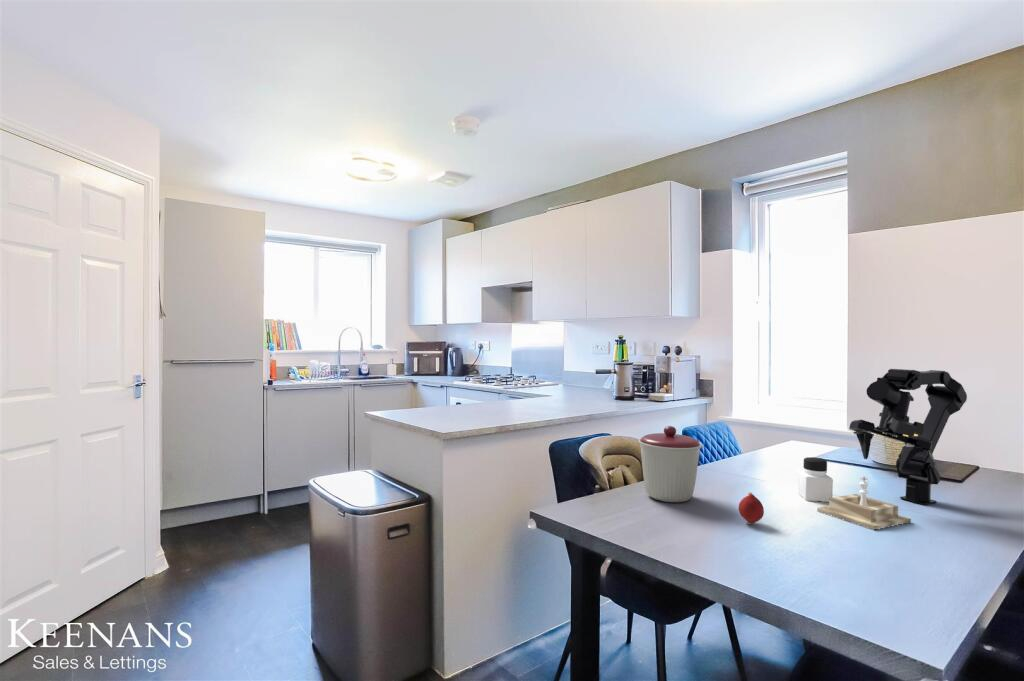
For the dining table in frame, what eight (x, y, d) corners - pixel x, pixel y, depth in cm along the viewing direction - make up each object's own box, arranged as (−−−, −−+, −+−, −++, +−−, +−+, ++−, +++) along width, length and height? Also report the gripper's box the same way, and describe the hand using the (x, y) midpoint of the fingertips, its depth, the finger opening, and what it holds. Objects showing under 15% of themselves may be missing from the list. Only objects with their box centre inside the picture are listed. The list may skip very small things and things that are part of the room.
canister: (680, 512, 139) (681, 434, 139) (624, 495, 153) (626, 425, 153) (713, 499, 151) (714, 427, 151) (659, 485, 165) (660, 419, 165)
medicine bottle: (832, 502, 150) (833, 461, 149) (805, 501, 151) (806, 460, 151) (823, 495, 156) (823, 456, 156) (797, 493, 158) (798, 454, 158)
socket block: (853, 505, 148) (853, 491, 148) (910, 522, 134) (911, 507, 134) (817, 511, 142) (817, 496, 142) (874, 530, 128) (874, 514, 128)
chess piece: (851, 508, 141) (851, 472, 141) (872, 511, 139) (873, 474, 139) (853, 514, 137) (854, 476, 137) (876, 517, 135) (876, 479, 135)
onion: (761, 521, 133) (762, 490, 133) (765, 529, 127) (765, 497, 127) (737, 518, 135) (737, 488, 135) (739, 526, 129) (739, 494, 129)
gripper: (874, 398, 141) (861, 453, 139) (950, 420, 137) (938, 477, 135) (854, 402, 152) (842, 453, 149) (924, 422, 148) (913, 475, 145)
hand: (883, 464), depth 144 cm, fingers open, 9 cm apart
